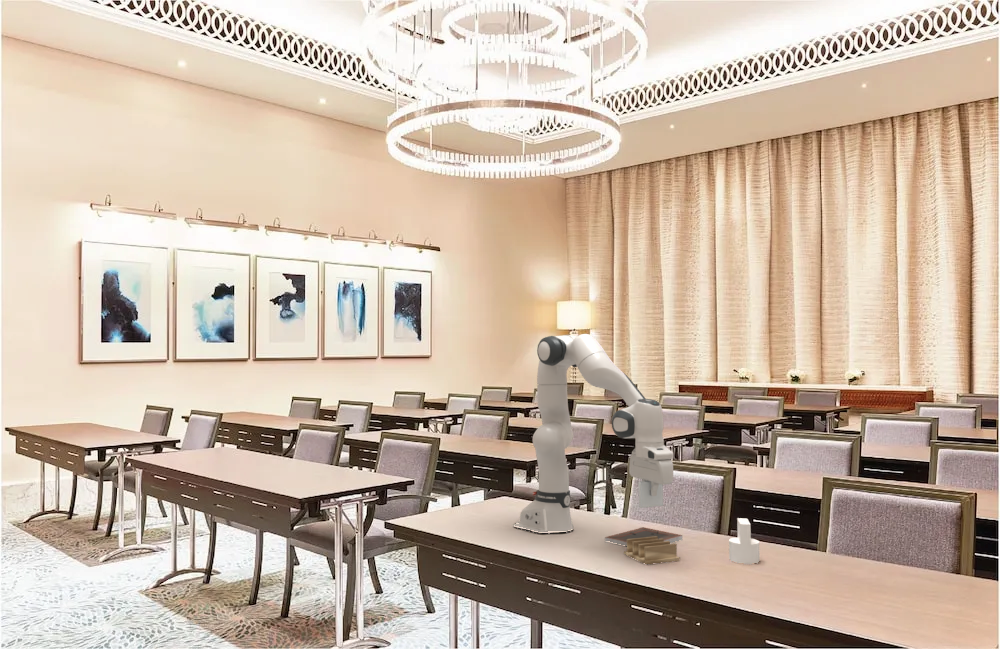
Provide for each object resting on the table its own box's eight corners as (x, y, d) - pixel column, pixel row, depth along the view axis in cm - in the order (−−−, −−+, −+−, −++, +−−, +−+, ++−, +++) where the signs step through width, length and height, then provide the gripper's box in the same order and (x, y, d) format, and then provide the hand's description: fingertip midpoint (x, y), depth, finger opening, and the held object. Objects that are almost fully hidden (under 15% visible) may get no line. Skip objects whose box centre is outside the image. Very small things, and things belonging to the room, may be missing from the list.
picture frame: (644, 553, 246) (682, 541, 260) (644, 545, 246) (682, 534, 261) (604, 543, 258) (643, 533, 273) (604, 536, 258) (643, 526, 273)
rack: (624, 554, 241) (623, 538, 242) (656, 550, 246) (656, 535, 246) (646, 564, 229) (646, 548, 230) (679, 560, 234) (679, 544, 234)
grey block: (638, 507, 237) (638, 481, 238) (660, 505, 240) (660, 479, 241) (641, 508, 236) (640, 482, 236) (663, 505, 239) (662, 480, 239)
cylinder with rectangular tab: (761, 565, 229) (761, 525, 230) (730, 563, 231) (730, 523, 231) (757, 557, 238) (757, 518, 238) (727, 555, 240) (727, 517, 240)
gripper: (624, 447, 248) (624, 490, 247) (658, 455, 228) (659, 501, 228) (640, 446, 250) (641, 489, 249) (676, 453, 231) (677, 499, 230)
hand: (650, 495), depth 238 cm, fingers closed on grey block, 1 cm apart
